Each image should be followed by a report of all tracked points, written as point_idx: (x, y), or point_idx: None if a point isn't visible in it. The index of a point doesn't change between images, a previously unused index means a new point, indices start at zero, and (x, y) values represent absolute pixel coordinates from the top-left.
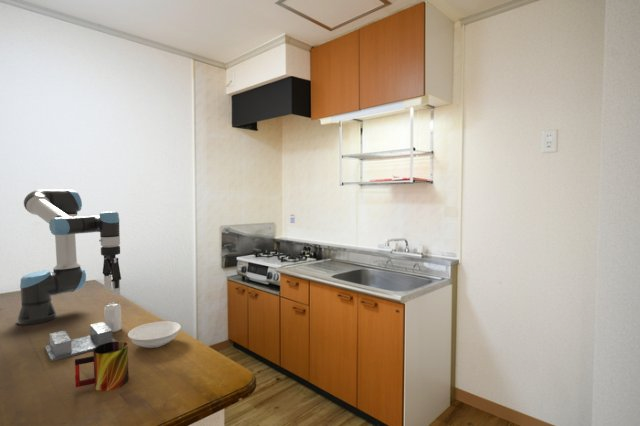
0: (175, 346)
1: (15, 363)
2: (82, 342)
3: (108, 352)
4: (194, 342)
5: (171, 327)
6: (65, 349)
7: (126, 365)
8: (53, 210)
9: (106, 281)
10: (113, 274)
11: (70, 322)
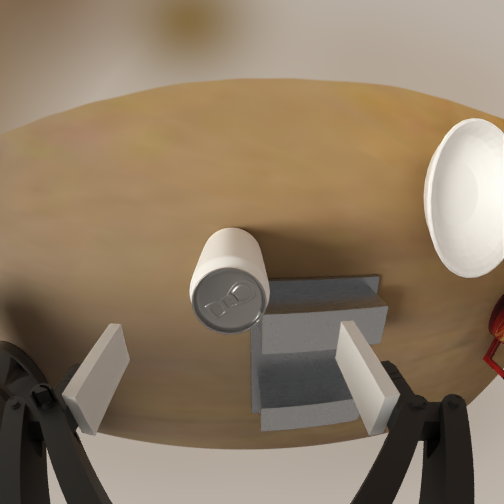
0: None
1: (300, 439)
2: (300, 353)
3: None
4: (493, 119)
5: (464, 133)
6: None
7: None
8: None
9: (105, 393)
10: (426, 473)
11: (65, 335)
